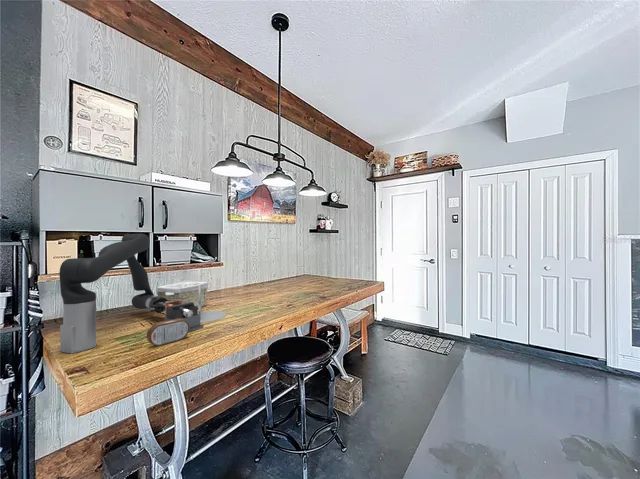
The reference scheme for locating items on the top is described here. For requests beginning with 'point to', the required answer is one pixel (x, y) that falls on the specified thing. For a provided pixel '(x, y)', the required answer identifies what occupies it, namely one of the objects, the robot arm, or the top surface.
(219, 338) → the top surface
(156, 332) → the tin
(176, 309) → the block
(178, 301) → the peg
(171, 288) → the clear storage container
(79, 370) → the top surface
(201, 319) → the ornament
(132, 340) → the top surface
